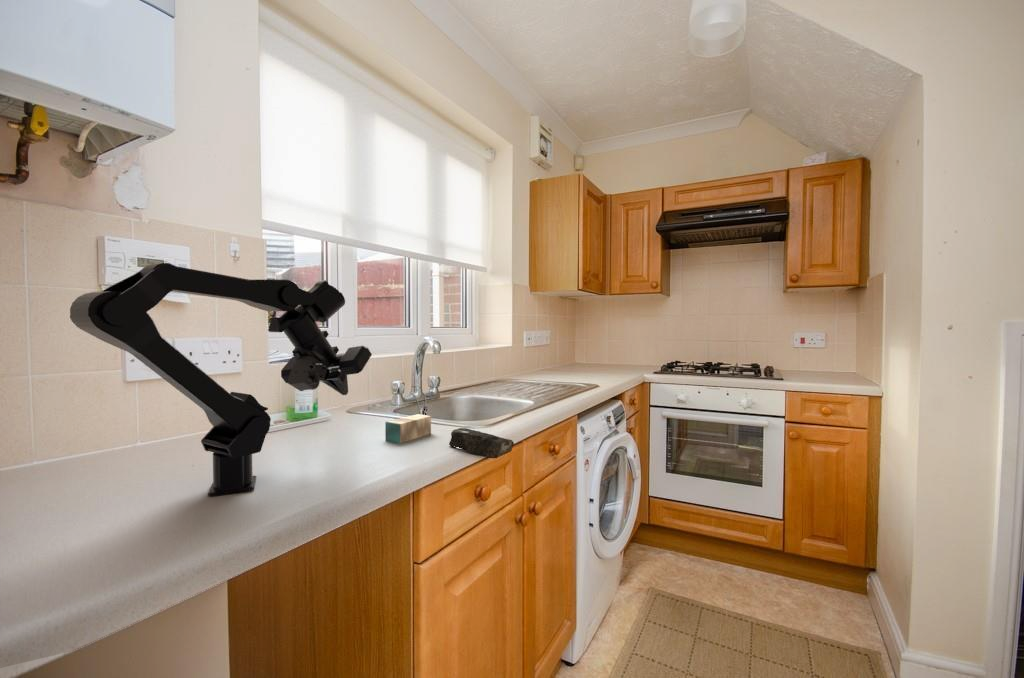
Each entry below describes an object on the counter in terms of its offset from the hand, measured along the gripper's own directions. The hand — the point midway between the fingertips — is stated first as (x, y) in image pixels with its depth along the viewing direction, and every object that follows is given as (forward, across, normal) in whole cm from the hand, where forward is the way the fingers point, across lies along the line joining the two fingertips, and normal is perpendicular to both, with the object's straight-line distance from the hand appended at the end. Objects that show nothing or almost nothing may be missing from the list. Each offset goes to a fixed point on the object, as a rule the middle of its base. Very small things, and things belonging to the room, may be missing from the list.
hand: (345, 393), depth 97 cm
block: (+16, +2, +2) cm, 16 cm away
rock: (+21, +24, -1) cm, 32 cm away
